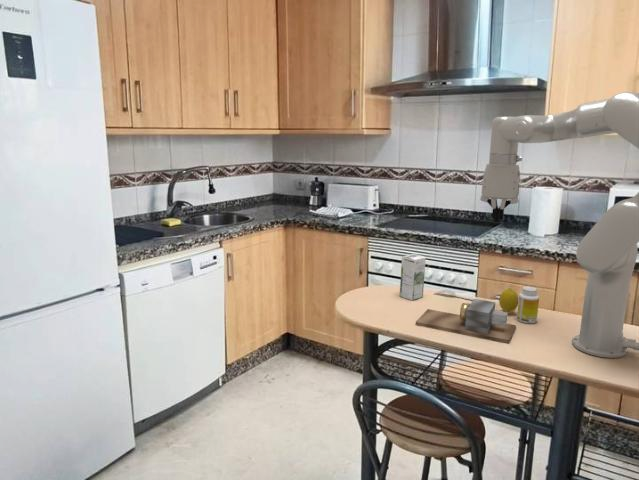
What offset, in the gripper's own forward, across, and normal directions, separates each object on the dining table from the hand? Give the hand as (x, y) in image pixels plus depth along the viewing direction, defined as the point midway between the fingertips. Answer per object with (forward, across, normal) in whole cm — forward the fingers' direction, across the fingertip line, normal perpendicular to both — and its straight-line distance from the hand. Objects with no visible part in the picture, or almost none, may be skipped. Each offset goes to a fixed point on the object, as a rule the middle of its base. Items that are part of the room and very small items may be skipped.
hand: (497, 221), depth 148 cm
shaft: (+27, -1, +15) cm, 31 cm away
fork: (+30, +10, -10) cm, 33 cm away
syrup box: (+29, +26, -2) cm, 39 cm away
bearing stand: (+29, +4, +15) cm, 33 cm away
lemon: (+29, -5, -3) cm, 30 cm away
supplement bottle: (+29, -11, +1) cm, 31 cm away
